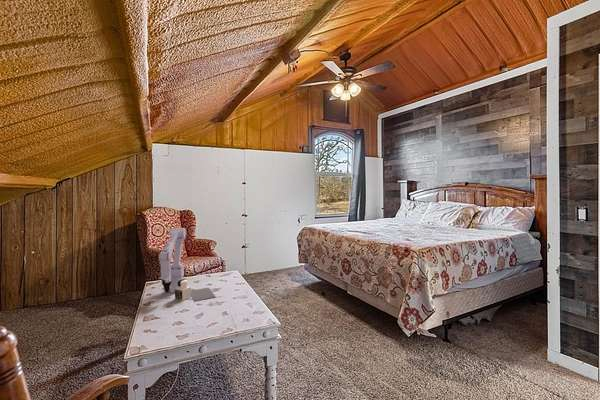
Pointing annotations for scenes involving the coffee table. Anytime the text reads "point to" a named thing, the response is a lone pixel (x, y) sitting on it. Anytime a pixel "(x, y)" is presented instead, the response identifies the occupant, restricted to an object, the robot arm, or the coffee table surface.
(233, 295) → the coffee table surface
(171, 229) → the robot arm
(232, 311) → the coffee table surface
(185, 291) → the medicine box
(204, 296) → the grey flat slab
